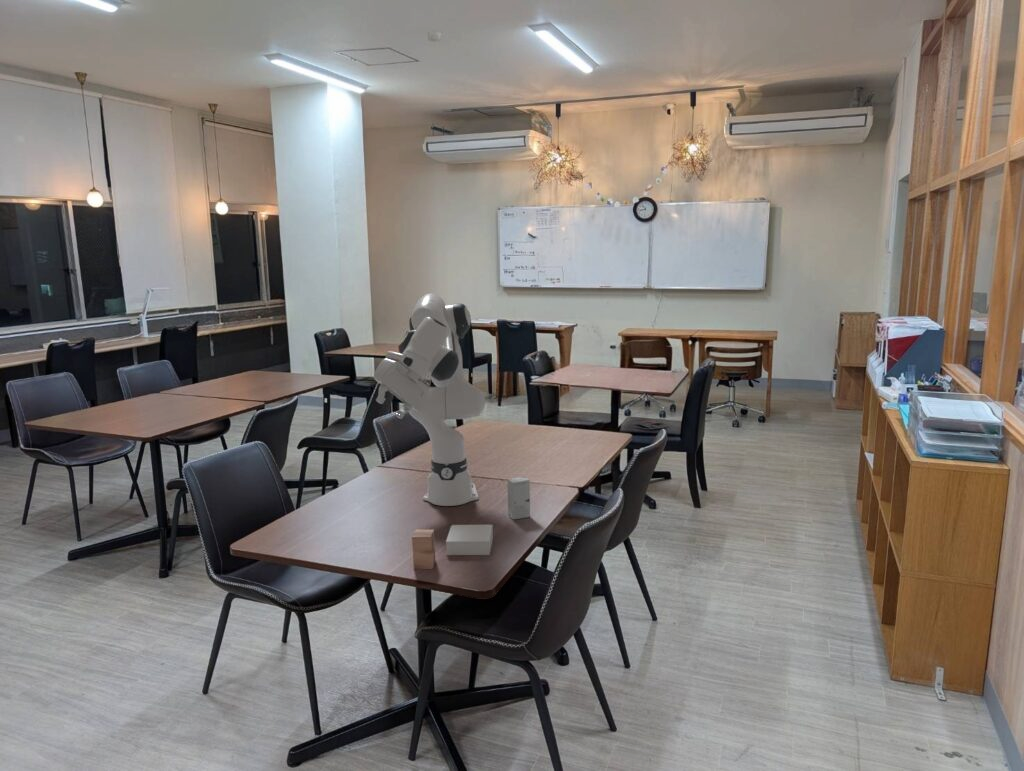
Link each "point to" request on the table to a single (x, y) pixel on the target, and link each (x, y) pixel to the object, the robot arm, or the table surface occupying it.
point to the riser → (469, 540)
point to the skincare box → (518, 498)
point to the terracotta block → (423, 549)
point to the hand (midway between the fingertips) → (388, 410)
